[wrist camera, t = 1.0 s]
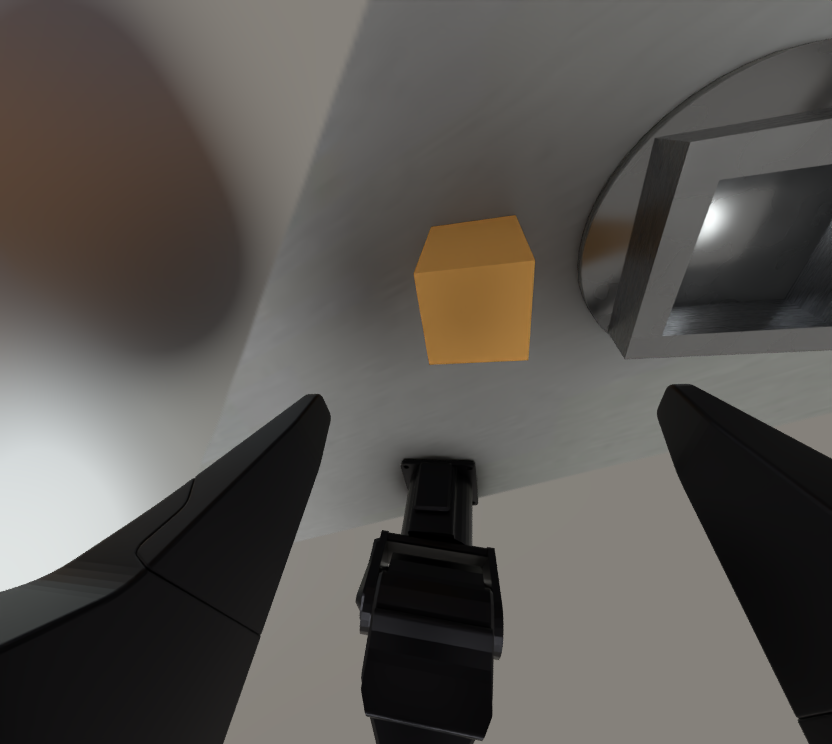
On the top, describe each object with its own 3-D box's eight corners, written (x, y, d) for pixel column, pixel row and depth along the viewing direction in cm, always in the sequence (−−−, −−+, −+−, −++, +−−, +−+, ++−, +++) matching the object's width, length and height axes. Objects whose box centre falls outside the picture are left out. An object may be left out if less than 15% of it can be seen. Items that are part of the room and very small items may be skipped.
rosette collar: (811, 339, 16) (873, 380, 14) (563, 352, 19) (577, 388, 16) (1062, -11, 9) (1293, -60, 6) (604, 85, 12) (640, 77, 9)
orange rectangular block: (513, 294, 17) (528, 359, 12) (440, 300, 18) (429, 364, 13) (515, 215, 15) (535, 260, 10) (431, 226, 15) (413, 273, 11)
